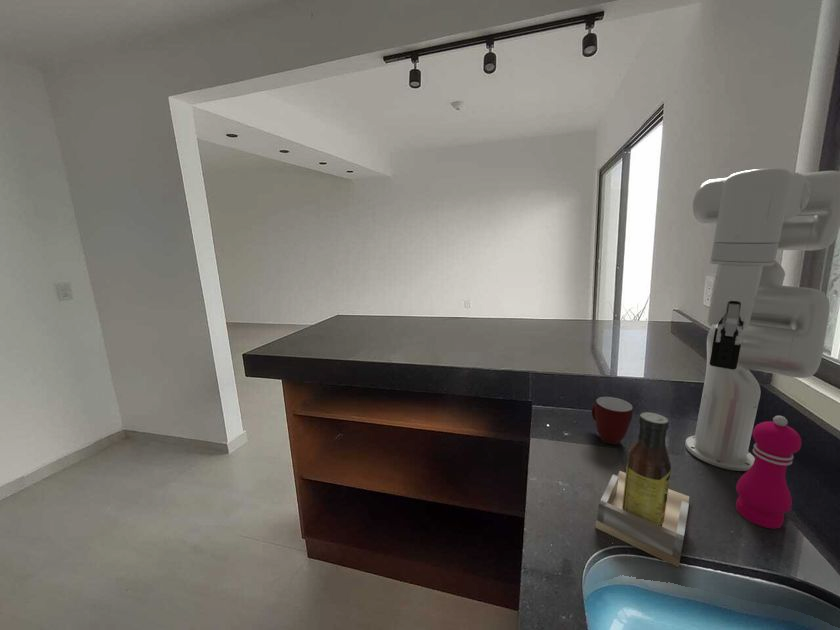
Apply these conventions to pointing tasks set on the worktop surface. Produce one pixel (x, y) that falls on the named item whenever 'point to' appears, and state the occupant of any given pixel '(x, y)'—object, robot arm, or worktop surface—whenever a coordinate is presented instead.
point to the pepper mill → (768, 474)
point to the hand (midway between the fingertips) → (722, 358)
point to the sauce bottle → (648, 470)
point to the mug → (612, 418)
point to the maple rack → (644, 522)
